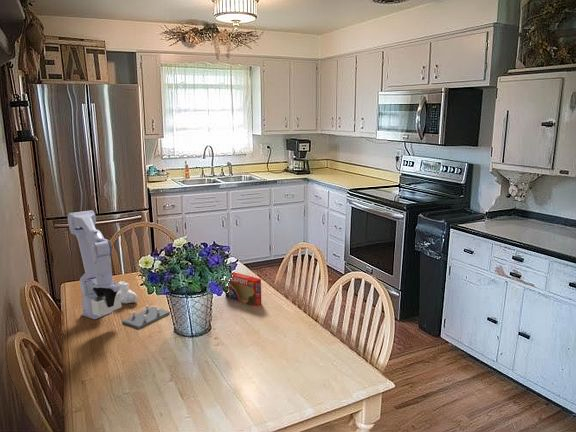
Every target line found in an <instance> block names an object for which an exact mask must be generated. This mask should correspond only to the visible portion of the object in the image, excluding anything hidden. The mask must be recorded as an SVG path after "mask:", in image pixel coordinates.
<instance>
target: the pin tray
mask: <svg viewBox="0 0 576 432" xmlns="http://www.w3.org/2000/svg"><path fill="white" fill-rule="evenodd" d="M131 313H132V314H131V315H132V316H129V317H128V318H125V319H123V320H122V321H121V322H122V324H124V325H127V326H129V327H132V328H135V329H138V330H140V329H142V328H144V327H146V326H149V325H150V324H152V323H154V322H156V321H158V320H160V319H163V318H164V317H167V316H168V315H170V314H171V313H170V311H169V310H165V309H163V308H160V307H159V308H158V307H155V306H151V307H150V306H149V305H148V304H146V305H145V310H143V311H141V312H139V313H136V311H135V310H133V311H132V312H131Z"/></svg>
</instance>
